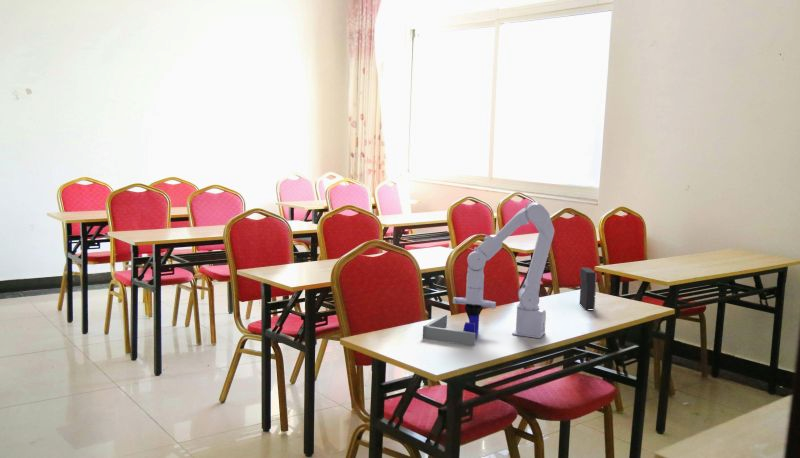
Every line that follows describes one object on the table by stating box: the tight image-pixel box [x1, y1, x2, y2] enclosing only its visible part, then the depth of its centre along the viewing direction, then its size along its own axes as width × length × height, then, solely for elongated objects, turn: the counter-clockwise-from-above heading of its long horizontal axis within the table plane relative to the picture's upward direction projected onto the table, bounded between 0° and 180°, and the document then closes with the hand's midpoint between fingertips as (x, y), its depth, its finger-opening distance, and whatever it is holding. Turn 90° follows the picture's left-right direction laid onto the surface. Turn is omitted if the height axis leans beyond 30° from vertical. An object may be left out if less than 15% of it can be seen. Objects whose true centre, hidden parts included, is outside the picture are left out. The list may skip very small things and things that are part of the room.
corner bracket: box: [422, 313, 476, 347], centre depth 241 cm, size 17×19×4 cm
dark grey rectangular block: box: [579, 267, 597, 310], centre depth 288 cm, size 11×4×15 cm, turn 179°
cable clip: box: [462, 315, 480, 340], centre depth 239 cm, size 12×4×6 cm, turn 167°
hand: (473, 326), depth 247 cm, fingers closed
